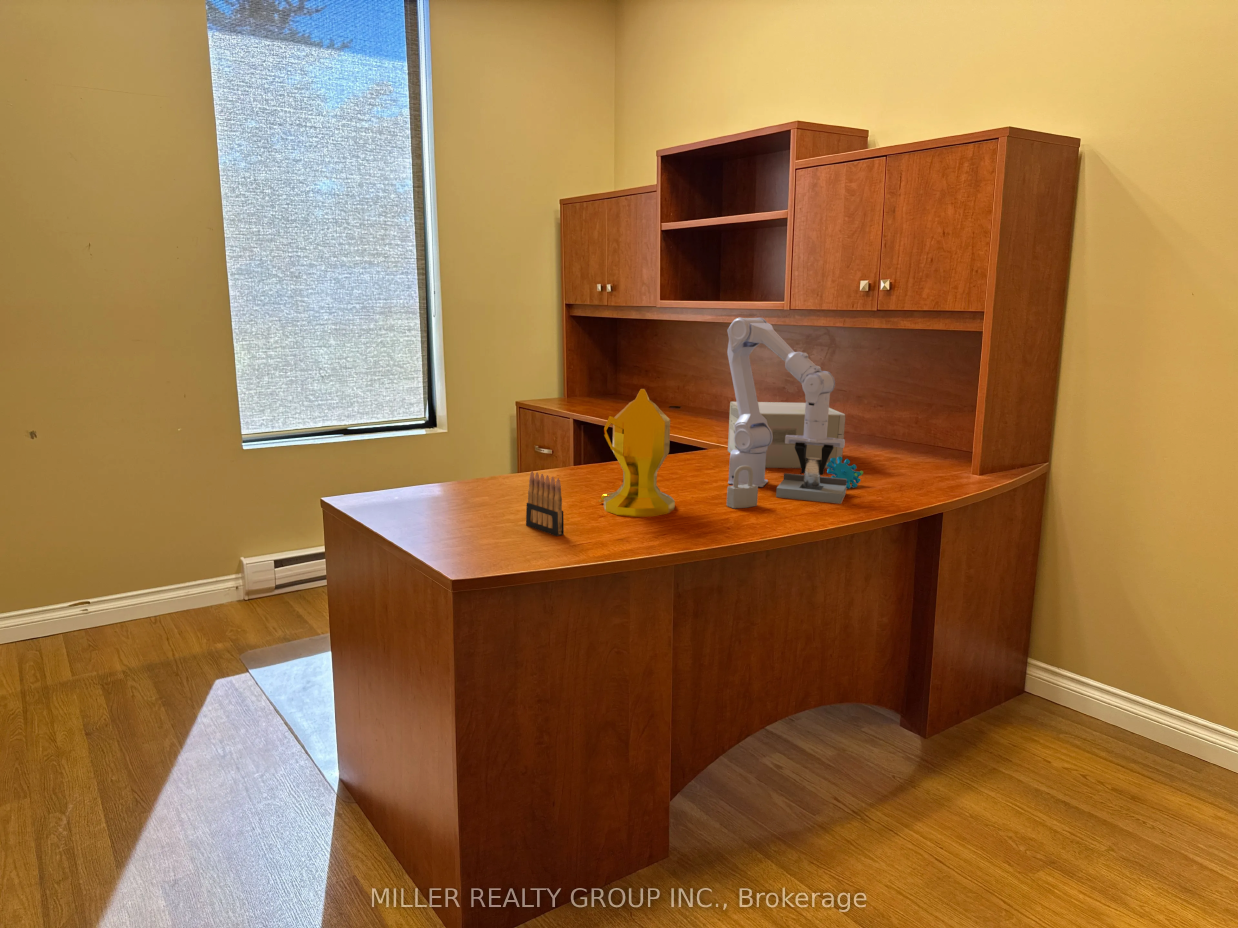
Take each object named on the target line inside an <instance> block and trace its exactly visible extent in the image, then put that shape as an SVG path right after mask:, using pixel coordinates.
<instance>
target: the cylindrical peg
mask: <svg viewBox="0 0 1238 928" xmlns="http://www.w3.org/2000/svg"><path fill="white" fill-rule="evenodd" d="M820 468H821V459H820V458H814V457H807V458H805V468H804V473H803V475H804V482H803V486H805V487H810V488H817V487H819V486H820V476H821V475H820Z"/></svg>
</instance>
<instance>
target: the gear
mask: <svg viewBox="0 0 1238 928" xmlns="http://www.w3.org/2000/svg"><path fill="white" fill-rule="evenodd" d="M843 459H844V458H843V456H842V457H838V458H837V461H838V464H837V463H836V458H831V459H830V461H831V462H832V463H833V465H834V466H833V465H832V463H831V462H829V463H828V464H827V466H828V467H830V468H829V469H826V470H827V471H826V474H829V475H831V476H830V477H832V478H842V479H847V484H846V490H850V489H851V488H853V489H854V488H857V487H858V485H859V483H861V480H862V479H861V478H859V477H861V476H863V474H864V471H863V470H860V471H857V470H856V469H857V465H856V464H852V465H849V464H850V463H851V461H850V460H849V459H848V458H846V459H845V460H844V461H843ZM841 461H842V463H841ZM850 483H851V484H850Z"/></svg>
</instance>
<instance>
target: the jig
mask: <svg viewBox="0 0 1238 928" xmlns="http://www.w3.org/2000/svg"><path fill="white" fill-rule="evenodd" d="M803 482H804V474H799V473H790V472H789V473H787V472H784V473H783V480H781V482H780V483H779V484H778V485H777V487H776V490H775V491H776V493H775V497H776V498H780V499H781V498H782V499H790V500H792V499H793V500H800V501H801V500H803V501H811V502H819V503H820V502H821V503H830V504H837V505H838V504H842V503H843V500H844V498H845V496H846V493H847V488H846V484H847V479H842V478H832V477H831V476H830V477H829V476H822V475H820V486H819V487H817V488H810V487H805V486H803Z"/></svg>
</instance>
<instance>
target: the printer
mask: <svg viewBox="0 0 1238 928" xmlns="http://www.w3.org/2000/svg"><path fill="white" fill-rule="evenodd" d="M729 402H730V403H729V418H728V419H729V420H728V439H727V452H728V453H730V455H731V451H732V450H738V448H737V447H736V445H735V442H734V435H735V427H734V425H735V423H736V422H737V420H738V419H739V412H738V406H737V401H729ZM758 406H759V411H760V414H761V415H762V416H763V417H764V418H765V419H766V420H767V424H768V426H769V428H770V429H771V431H772V435H773V439H772V442H771V444H770V445H769V446H768V448H767V451H766V465H765V469H801V465H800V461H799V458H798V455H797V452H796V450H795V444H793V443H789V444H787V443H785V436H786V435H804V421H805V406H806V402H784V401H783V402H779V401H778V402H775V401H773V402H771V401H770V402H769V401H758ZM845 424H846V414H845V413H843V412H840V411H838V410H835V409H833V408H831V407H829V413H828V426H827V437H829V438H837V439H844V438H845V426H846V425H845ZM750 427H752V426H750ZM810 443H812V442H810ZM822 444H823V443H822ZM822 447H824V446H818V445H807V449H806V458H807V457H814V458H820V459H821V460H822ZM843 451H844V448H839V447H834V448H833V450H832V452H831V454H830V456H829V458H828V460H827V463H826V466H825V469H826V470H828V469H829V468H830V467H828V466H827V464H828V463H829V462H831V461H830V459H831V458H836V463H837V464H838V461H837V458H838V457H842V458H843V453H844V452H843ZM831 463H832V462H831ZM841 463H843V460H842V461H841ZM832 465H833V463H832ZM833 466H834V465H833ZM825 469H824V470H825Z"/></svg>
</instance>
